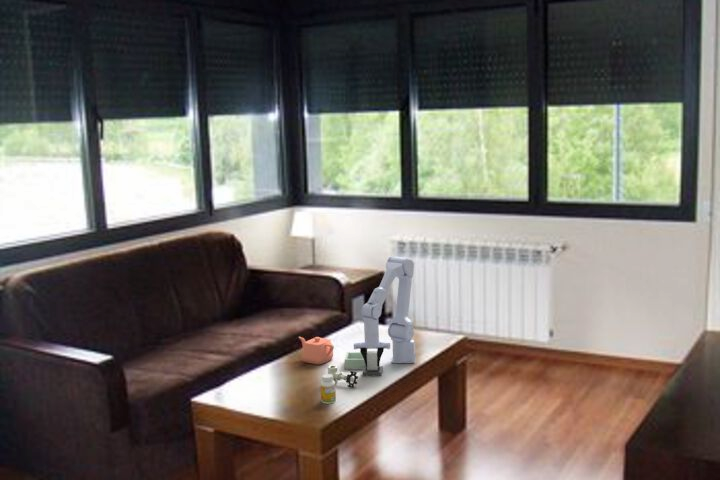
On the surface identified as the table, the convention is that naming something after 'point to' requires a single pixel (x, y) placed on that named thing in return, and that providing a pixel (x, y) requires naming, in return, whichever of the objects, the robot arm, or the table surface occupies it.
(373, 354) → the strut
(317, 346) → the teapot
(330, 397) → the supplement bottle
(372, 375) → the socket
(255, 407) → the table surface
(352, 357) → the bin
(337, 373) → the valve
